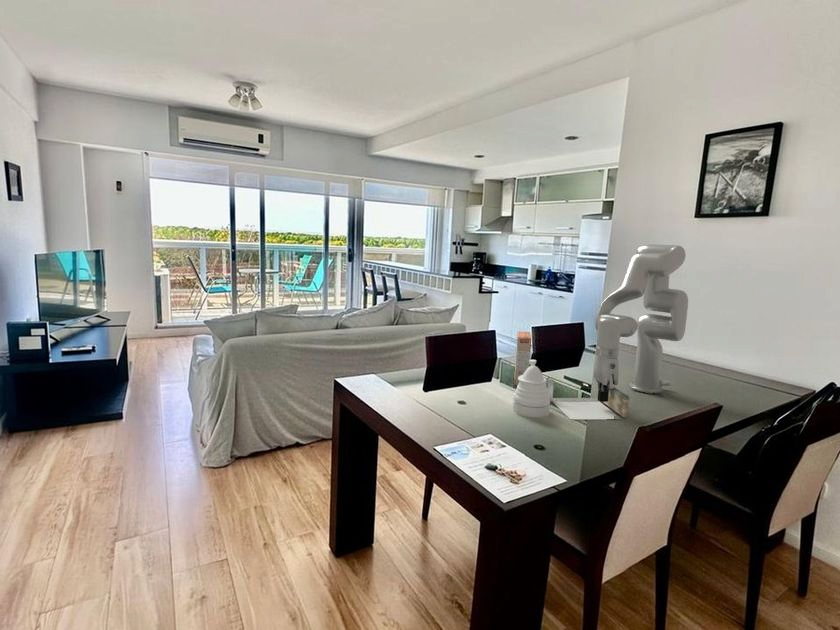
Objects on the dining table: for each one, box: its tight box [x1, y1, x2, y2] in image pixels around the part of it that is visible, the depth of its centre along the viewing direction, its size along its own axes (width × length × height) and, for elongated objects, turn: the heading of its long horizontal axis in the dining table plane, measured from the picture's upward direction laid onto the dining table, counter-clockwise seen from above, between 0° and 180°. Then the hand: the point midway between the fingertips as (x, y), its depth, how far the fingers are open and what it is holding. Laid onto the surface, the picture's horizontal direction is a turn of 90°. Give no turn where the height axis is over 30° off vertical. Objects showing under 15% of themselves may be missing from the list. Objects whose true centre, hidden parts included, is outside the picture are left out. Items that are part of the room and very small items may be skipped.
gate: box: [603, 386, 630, 418], centre depth 166 cm, size 19×2×7 cm, turn 4°
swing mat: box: [552, 402, 617, 421], centre depth 164 cm, size 18×17×1 cm
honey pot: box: [512, 359, 551, 418], centre depth 162 cm, size 13×13×18 cm
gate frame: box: [546, 377, 600, 403], centre depth 174 cm, size 25×3×8 cm, turn 93°
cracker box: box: [514, 331, 532, 386], centre depth 196 cm, size 14×6×21 cm, turn 168°
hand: (602, 400), depth 166 cm, fingers closed
